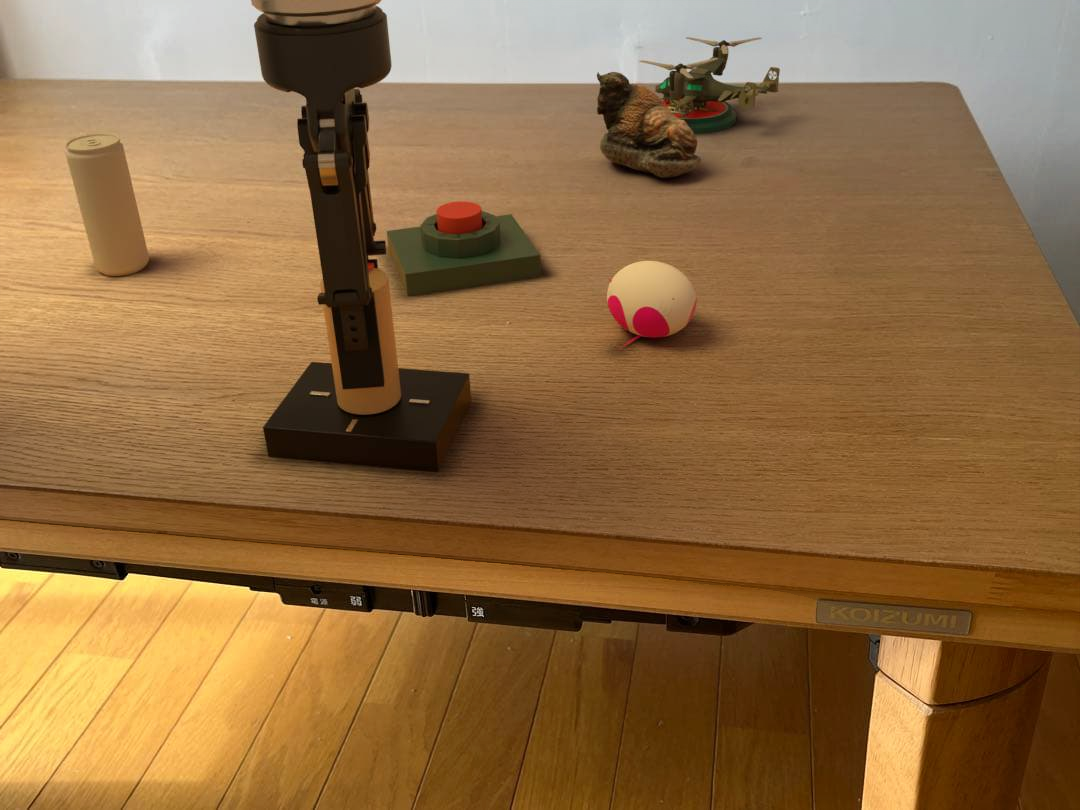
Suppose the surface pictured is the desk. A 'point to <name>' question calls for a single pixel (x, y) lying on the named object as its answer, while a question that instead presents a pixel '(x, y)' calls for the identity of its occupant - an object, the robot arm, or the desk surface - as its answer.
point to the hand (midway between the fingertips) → (365, 365)
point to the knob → (390, 394)
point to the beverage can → (107, 203)
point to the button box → (462, 255)
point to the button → (459, 217)
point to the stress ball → (651, 299)
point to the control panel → (370, 422)
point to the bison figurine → (643, 130)
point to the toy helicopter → (709, 90)
